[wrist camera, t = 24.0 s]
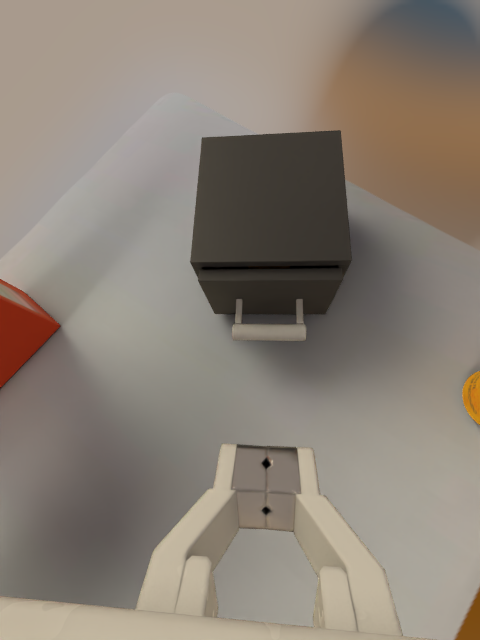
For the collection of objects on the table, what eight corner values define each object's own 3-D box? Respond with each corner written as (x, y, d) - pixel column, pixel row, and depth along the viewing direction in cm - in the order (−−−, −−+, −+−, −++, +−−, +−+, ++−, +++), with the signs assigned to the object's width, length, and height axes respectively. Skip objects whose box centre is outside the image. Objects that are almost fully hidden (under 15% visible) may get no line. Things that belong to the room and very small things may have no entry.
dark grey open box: (328, 306, 36) (351, 260, 26) (211, 306, 38) (190, 262, 27) (322, 203, 41) (340, 129, 30) (218, 206, 42) (201, 137, 32)
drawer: (327, 351, 34) (346, 327, 25) (212, 349, 35) (194, 326, 26) (320, 215, 39) (334, 158, 31) (220, 218, 40) (207, 164, 32)
